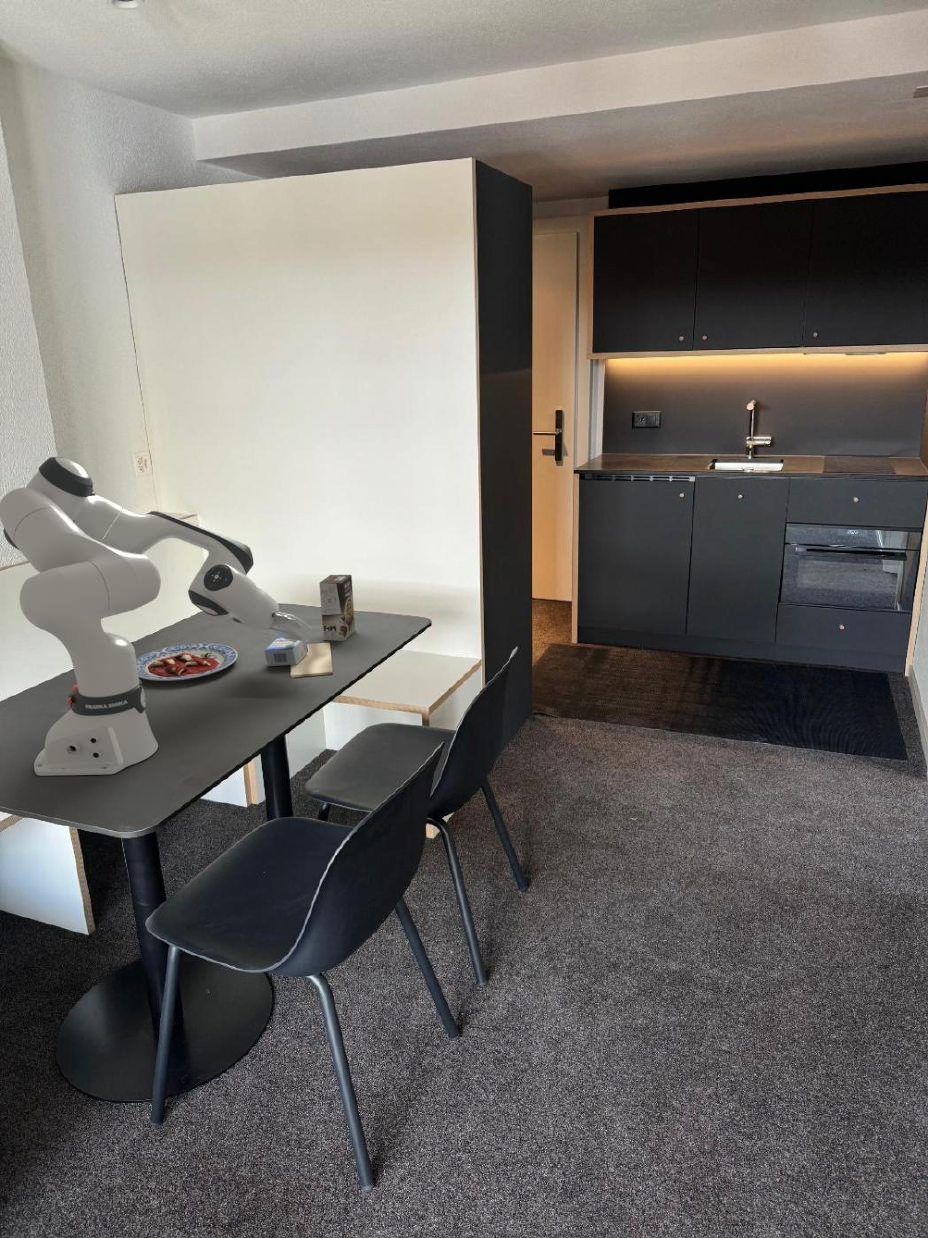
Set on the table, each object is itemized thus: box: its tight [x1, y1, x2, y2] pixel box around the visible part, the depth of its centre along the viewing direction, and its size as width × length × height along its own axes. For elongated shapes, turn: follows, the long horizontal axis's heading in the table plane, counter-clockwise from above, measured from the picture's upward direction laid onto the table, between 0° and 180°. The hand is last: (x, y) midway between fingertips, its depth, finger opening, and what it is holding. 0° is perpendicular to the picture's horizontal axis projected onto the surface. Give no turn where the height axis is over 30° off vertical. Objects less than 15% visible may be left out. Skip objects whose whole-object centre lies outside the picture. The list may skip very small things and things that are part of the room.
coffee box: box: [319, 574, 356, 642], centre depth 236 cm, size 9×6×16 cm
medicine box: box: [263, 637, 308, 667], centre depth 220 cm, size 8×4×9 cm
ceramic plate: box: [136, 642, 239, 682], centre depth 218 cm, size 26×26×3 cm
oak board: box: [290, 642, 334, 679], centre depth 221 cm, size 10×22×1 cm, turn 10°
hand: (293, 639), depth 217 cm, fingers closed
